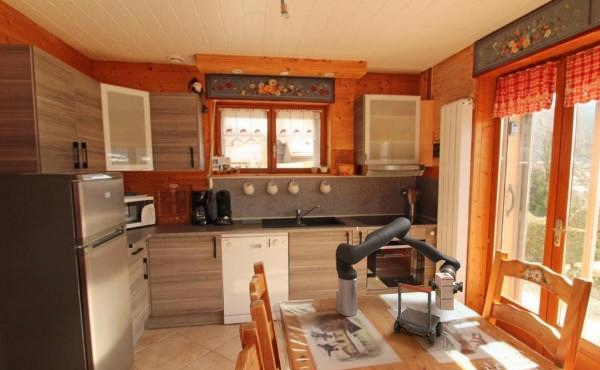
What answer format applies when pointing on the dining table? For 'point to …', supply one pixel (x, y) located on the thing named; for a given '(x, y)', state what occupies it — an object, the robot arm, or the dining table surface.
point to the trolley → (418, 317)
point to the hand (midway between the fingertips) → (444, 290)
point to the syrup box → (444, 291)
